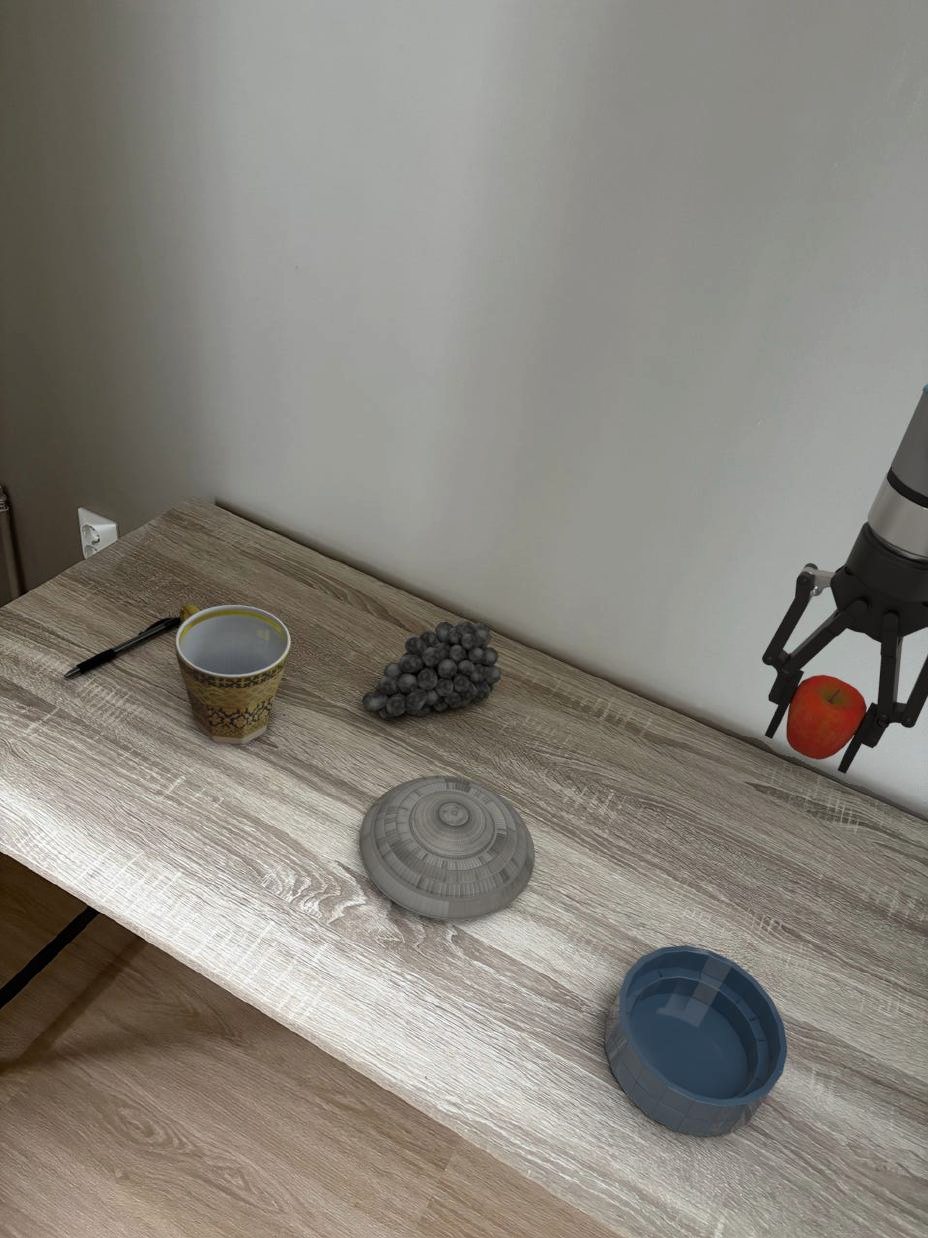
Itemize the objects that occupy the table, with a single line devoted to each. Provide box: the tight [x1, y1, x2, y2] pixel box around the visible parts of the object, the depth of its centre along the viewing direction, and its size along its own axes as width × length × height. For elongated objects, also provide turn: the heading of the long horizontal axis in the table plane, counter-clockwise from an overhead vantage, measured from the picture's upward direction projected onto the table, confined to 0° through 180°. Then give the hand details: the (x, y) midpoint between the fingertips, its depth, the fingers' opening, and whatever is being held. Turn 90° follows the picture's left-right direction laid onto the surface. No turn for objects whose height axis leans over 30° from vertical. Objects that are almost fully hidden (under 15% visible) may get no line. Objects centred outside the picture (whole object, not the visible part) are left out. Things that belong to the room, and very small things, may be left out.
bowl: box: [604, 944, 788, 1137], centre depth 71 cm, size 12×12×5 cm
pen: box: [64, 615, 182, 679], centre depth 98 cm, size 14×2×1 cm, turn 141°
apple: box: [785, 674, 868, 761], centre depth 89 cm, size 6×6×8 cm
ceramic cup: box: [174, 603, 292, 745], centre depth 90 cm, size 13×10×10 cm
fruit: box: [361, 620, 502, 721], centre depth 96 cm, size 9×8×15 cm
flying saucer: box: [358, 775, 536, 922], centre depth 82 cm, size 15×15×6 cm
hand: (808, 746), depth 91 cm, fingers closed on apple, 6 cm apart
